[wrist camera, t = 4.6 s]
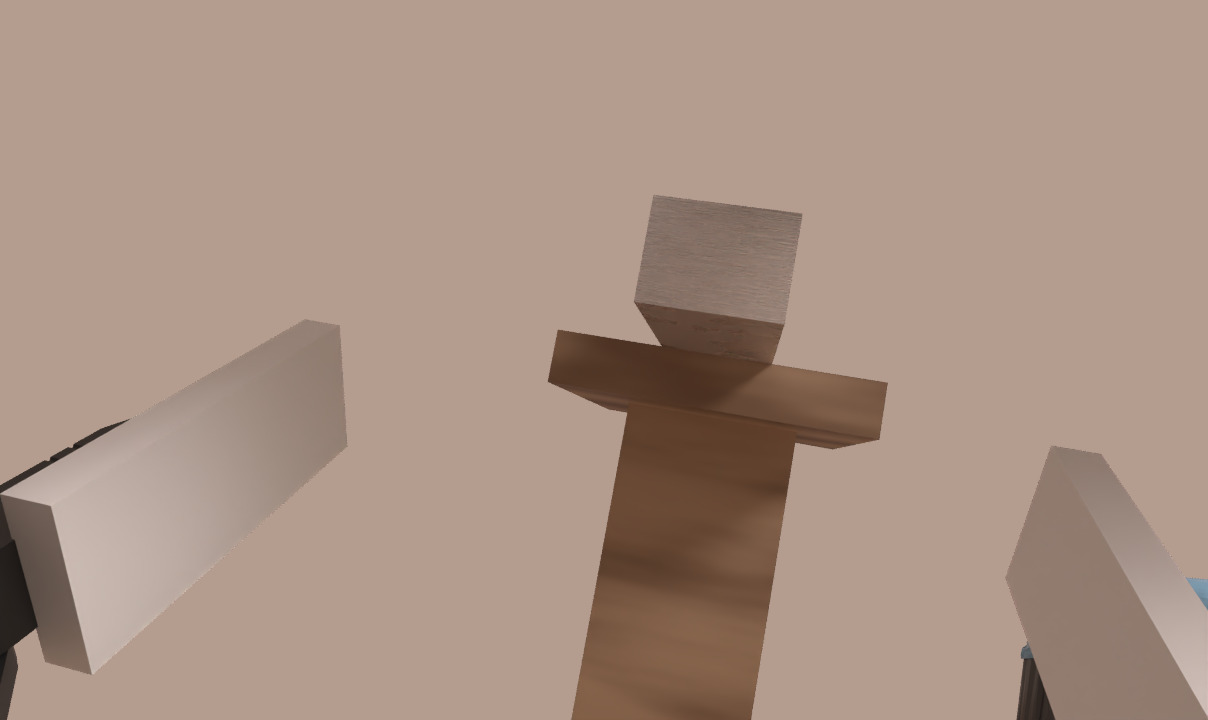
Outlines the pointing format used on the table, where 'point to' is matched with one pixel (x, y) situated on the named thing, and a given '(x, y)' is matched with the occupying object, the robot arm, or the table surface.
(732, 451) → the stand
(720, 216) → the grey block
